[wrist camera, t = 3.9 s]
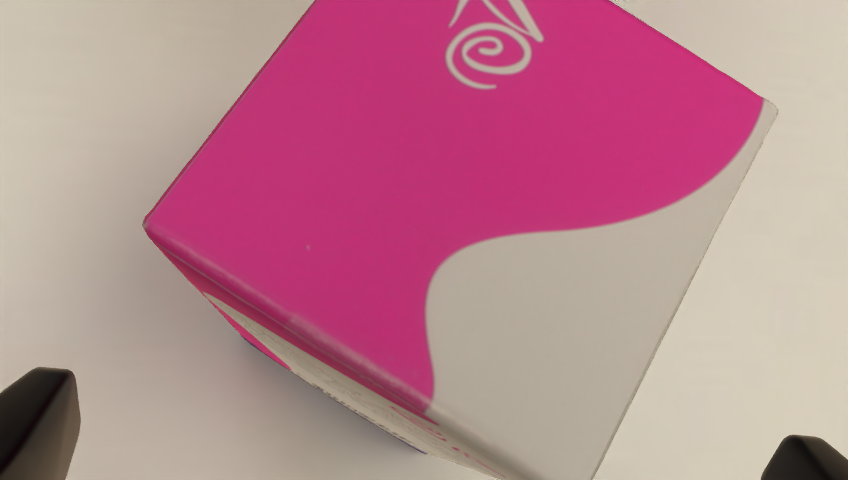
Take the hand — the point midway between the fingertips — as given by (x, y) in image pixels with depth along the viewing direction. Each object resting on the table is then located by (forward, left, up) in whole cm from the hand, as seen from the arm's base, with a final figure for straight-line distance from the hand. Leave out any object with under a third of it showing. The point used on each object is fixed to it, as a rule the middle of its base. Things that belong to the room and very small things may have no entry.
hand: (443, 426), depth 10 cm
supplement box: (+2, -2, -10) cm, 10 cm away
